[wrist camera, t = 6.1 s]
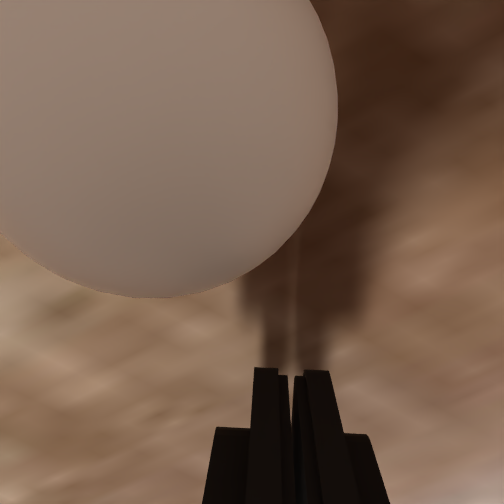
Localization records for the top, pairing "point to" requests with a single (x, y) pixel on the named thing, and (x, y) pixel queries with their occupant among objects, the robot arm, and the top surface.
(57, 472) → the top surface
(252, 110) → the cue ball
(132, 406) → the top surface
